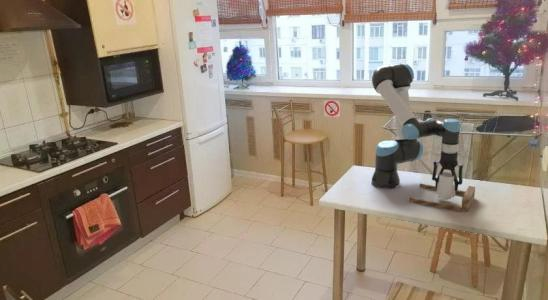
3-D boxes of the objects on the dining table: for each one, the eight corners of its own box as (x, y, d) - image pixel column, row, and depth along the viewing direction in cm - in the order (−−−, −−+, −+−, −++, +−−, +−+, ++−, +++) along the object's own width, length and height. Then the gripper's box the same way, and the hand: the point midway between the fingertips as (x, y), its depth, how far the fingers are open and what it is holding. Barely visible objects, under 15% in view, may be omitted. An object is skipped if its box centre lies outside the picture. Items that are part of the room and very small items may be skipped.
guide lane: (409, 201, 212) (409, 198, 211) (420, 186, 228) (420, 183, 227) (460, 211, 199) (460, 207, 198) (468, 195, 215) (468, 191, 214)
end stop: (460, 210, 201) (461, 198, 199) (466, 196, 214) (467, 185, 212) (468, 211, 199) (469, 200, 197) (474, 197, 212) (475, 186, 210)
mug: (451, 200, 205) (454, 178, 202) (437, 199, 208) (439, 176, 204) (452, 192, 214) (454, 170, 210) (438, 191, 217) (440, 169, 213)
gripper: (426, 150, 206) (423, 194, 213) (469, 156, 195) (465, 201, 203) (430, 146, 212) (427, 188, 219) (472, 151, 201) (468, 195, 208)
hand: (445, 194), depth 211 cm, fingers closed on mug, 6 cm apart
